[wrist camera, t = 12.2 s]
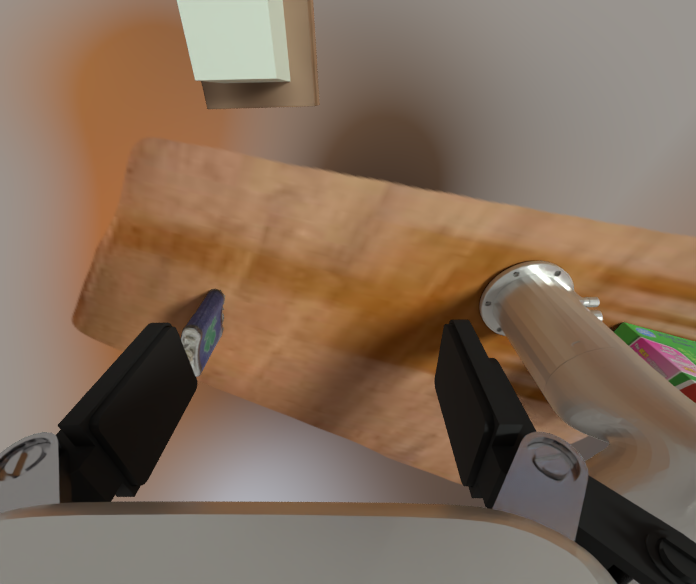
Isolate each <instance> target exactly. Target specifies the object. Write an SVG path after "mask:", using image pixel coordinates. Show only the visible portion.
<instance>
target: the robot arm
mask: <svg viewBox="0 0 696 584" xmlns="http://www.w3.org/2000/svg"><path fill="white" fill-rule="evenodd" d="M599 303H600V302H599V299H598V298H597V297H585V298H582V297H580V296H579V295H578V294H577V293H576V292H575V291H574V285H573V281H572V279H571V277H570V276H569V274H568V273H566V272H565V271H564V270H563V269H562V268H560V267H559V266H558V265H555V264H553V263H550V262H545V261H530V262H524V263H521V264H518V265H515V266H512V267H510V268H508V269H506V270H505V271H503V272H502V273H500V274H499V275H497V276H496V277H495V278H494V279H493V280H492V281H491V282H490V283H489V285H488V286H487V287H486V289H485V290H484V292H483V294H482V297H481V300H480V308H479V309H480V314H481V317H482V319H483V321H484V322H485V324H486V325H487V327H489V328H490V329H491V330H492V331H494V332H495V333H497V334H500V335H504V336H506V337H507V338H508V340H509V341H510V343H511V345H512V346H513V348H514V349H515V351H516V352H517V354H518V355H519V357H520V359H521V360H522V362H523V363H524V365H525V366H526V368H527V370H528V371H529V373H530V374H531V376H532V377H533V379H534V381H535V382H536V384H537V385H538V387H539V388H540V390H541V392H542V393H543V395H544V396H545V398H546V399H547V401H548V402H549V404H550V406H551V407H552V409H553V410H554V411H555V413H556V414H557V415H558V416H559V417H560V418H561V419H562V420H563V421H564V422H566V423H567V424H568V425H569V426H571V427H573V428H574V429H576V430H578V431H580V432H582V433H584V434H587V435H589V436H592V437H595V438H597V439H600V440H603V441H605V442H608V443H609V445H608V447H607V448H606V449H604V450H603V451H601V452H600V453H598V454H596V455H594V456H593V457H592V458H590V459H588V460H587V461H584V459H583V458H582V456H581V455H580V454H579V452H578V451H577V450H576V449H575V448H574V447H573V446H571V445H570V444H569V443H568V442H566V441H565V440H563V439H561V438H560V437H557V436H555V435H553V434H550V433H545V432H536V430H535V428H534V426H533V424H532V422H531V421H530V419H529V417H528V415H527V413H526V411H525V410H524V408H523V406H522V404H521V402H520V400H519V399H518V397H517V395H516V393H515V391H514V389H513V388H512V386H511V384H510V382H509V380H508V378H507V377H506V375H505V373H504V371H503V369H502V367H501V366H500V364H499V362H498V361H497V360H496V359H495V358H488V356H487V354H486V352H485V350H484V348H483V346H482V344H481V342H480V340H479V338H478V336H477V334H476V332H475V331H474V329H473V327H472V325H471V323H470V321H469V320H450V323H449V324H445V325H444V329H443V334H442V340H441V346H440V351H439V357H438V363H437V368H436V374H435V389H436V393H437V396H438V400H439V403H440V407H441V411H442V414H443V418H444V421H445V425H446V429H447V432H448V436H449V439H450V443H451V446H452V450H453V454H454V457H455V461H456V464H457V468H458V471H459V475H460V479H461V482H462V484H463V486H469V490H470V493H471V497H472V498H483V500H484V503H485V506H486V507H487V508H482V507H474V506H460V505H447V504H414V503H412V504H411V503H352V502H350V503H349V502H348V503H346V502H344V503H343V502H111V501H112V499H113V497H114V496H115V495H116V496H117V497H135V495H136V493H137V491H138V489H139V488H140V486H141V485H143V484H145V483H146V482H147V480H148V479H149V477H150V475H151V473H152V471H153V469H154V467H155V465H156V464H157V462H158V460H159V458H160V456H161V454H162V452H163V450H164V449H165V447H166V445H167V443H168V441H169V439H170V437H171V436H172V434H173V432H174V430H175V428H176V426H177V424H178V422H179V421H180V419H181V417H182V415H183V413H184V411H185V409H186V407H187V406H188V404H189V402H190V400H191V398H192V396H193V395H194V393H195V391H196V388H197V379H196V376H195V374H194V371H193V369H192V366H191V364H190V361H189V359H188V356H187V354H186V351H185V349H184V346H183V344H182V341H181V339H180V336H179V334H178V331H177V329H176V328H175V327H172V325H171V324H170V323H150V324H148V325H147V326H146V327H145V329H144V330H143V331H142V332H141V333H140V334H139V335H138V336H137V337H136V339H135V340H134V341H133V342H132V343H131V344H130V345H129V346H128V347H127V349H126V350H125V351H124V352H123V353H122V354H121V355H120V356H119V357H118V359H117V360H116V361H115V362H114V363H113V364H112V365H111V366H110V367H109V369H108V370H107V371H106V372H105V373H104V374H103V375H102V376H101V378H100V379H99V380H98V381H97V382H96V383H95V384H94V385H93V386H92V388H91V389H90V390H89V391H88V392H87V393H86V394H85V395H84V397H82V399H81V400H80V401H79V402H78V403H77V404H76V405H75V406H74V408H73V409H72V410H71V411H70V412H69V413H68V414H67V415H66V417H65V418H64V419H63V420H62V421H61V422H60V423H59V424H58V427H59V428H60V429H61V430H60V431H59V432H58V433H57V434H56V435H54V434H52V433H47V432H43V433H38V434H33V435H31V436H28V437H25V438H23V439H21V440H19V441H18V442H16V443H14V444H12V445H11V446H9V447H8V448H6V449H5V450H4V451H2V452H1V453H0V584H696V403H695V402H693V401H692V400H691V399H689V398H688V397H687V396H685V395H684V394H683V393H682V392H681V391H679V390H678V389H677V388H676V387H675V386H673V385H672V384H671V383H670V382H669V381H668V380H666V379H665V378H664V377H663V376H662V375H661V374H659V373H658V372H657V371H656V370H655V369H654V368H653V367H651V366H650V365H649V364H648V363H647V362H646V361H645V360H644V359H643V358H642V357H640V356H639V355H638V354H637V353H636V352H635V351H634V350H633V349H632V348H630V347H629V346H628V345H627V344H626V343H625V342H624V341H623V340H622V339H621V338H619V337H618V336H617V335H616V334H615V333H614V332H613V331H612V330H611V329H610V328H608V327H607V326H606V325H605V324H604V323H603V322H602V318H603V316H602V313H601V312H600V311H599V310H589V309H587V308H586V307H598V305H599Z"/></svg>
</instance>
